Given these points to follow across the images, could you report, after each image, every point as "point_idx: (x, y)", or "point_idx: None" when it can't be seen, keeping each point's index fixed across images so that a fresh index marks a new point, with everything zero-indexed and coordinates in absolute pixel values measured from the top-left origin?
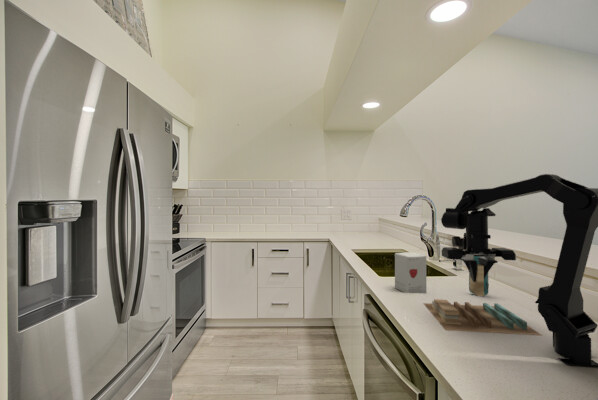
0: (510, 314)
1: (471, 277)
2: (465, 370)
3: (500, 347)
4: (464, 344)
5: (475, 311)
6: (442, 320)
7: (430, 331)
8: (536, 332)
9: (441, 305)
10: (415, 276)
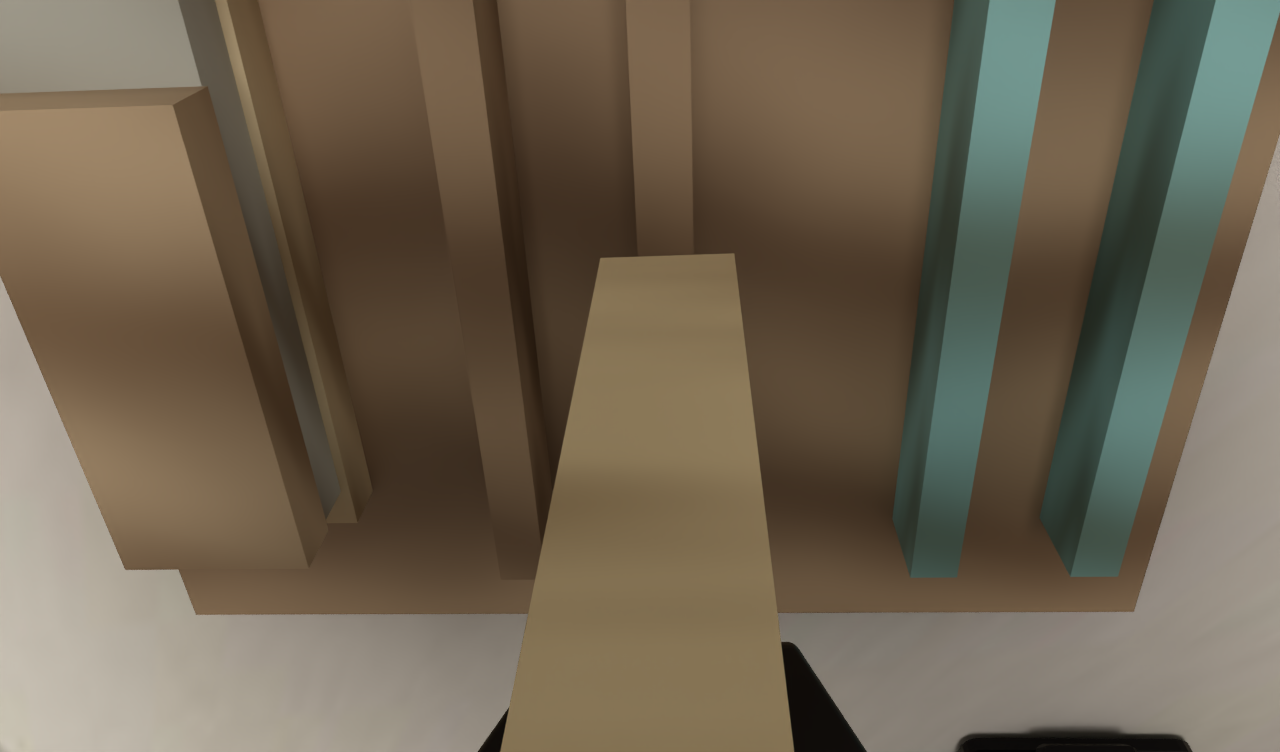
0: (1125, 344)
1: (503, 735)
2: None
3: None
4: (344, 720)
5: None
6: None
7: (72, 563)
8: (1126, 567)
9: (79, 412)
10: None
